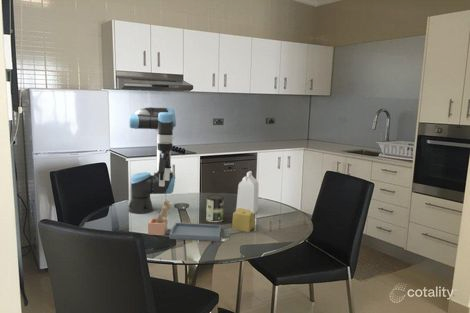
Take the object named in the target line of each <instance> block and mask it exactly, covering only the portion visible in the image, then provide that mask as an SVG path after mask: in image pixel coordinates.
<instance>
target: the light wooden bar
mask: <svg viewBox="0 0 470 313" xmlns="http://www.w3.org/2000/svg"><path fill="white" fill-rule="evenodd" d="M172 203H173V202H172V201H170V200H168V199H165V200H164V202H163V204H162V207H161V209H160V212H159V214H158V216H157V218H158V219H157V222H156V223H164V221H165V219H167V216H168V213H169V211H170V209H171V206H172Z"/></svg>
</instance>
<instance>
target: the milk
mask: <svg viewBox="0 0 470 313" xmlns="http://www.w3.org/2000/svg"><path fill="white" fill-rule="evenodd" d="M237 186H238V187H237V196H236V207H235V211H236V210H237V209H238V208H242V209H246V210H250V211H251V212H253V214H254V215H255V214H256V213H257V212H258V211H259V181H258V180H257V179H256V178H255V177H254V175H253V172H252V171H251V170H249V171H247V172H246V176H244V177H242V179H241V181H239V183H238V185H237ZM257 210H258V211H257ZM256 211H257V212H256Z"/></svg>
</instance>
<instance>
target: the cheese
mask: <svg viewBox="0 0 470 313" xmlns="http://www.w3.org/2000/svg"><path fill="white" fill-rule="evenodd" d="M255 218H256V216H255V214H253V212H251V211H250V210H246V209H242V208H238V209H237V210H236V209H235V211H234V212H233V213H232V228H231V229H232V230H234V231H238V232H239V231H240V232H244V233H245V232H246V233H250V231H252V229H254V228H255V225H256V222H255Z"/></svg>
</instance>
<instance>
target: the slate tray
mask: <svg viewBox="0 0 470 313" xmlns="http://www.w3.org/2000/svg"><path fill="white" fill-rule="evenodd" d="M173 224H174V225H173V226H172V228H171V230H170V232H169V234H168V235H169V236H168V239H169V240H170V239H171V240H184V241H186V240H188V241H204V240H207V241H209V242H220V241H221V240H220V239H221V233H222V224H215V223H214V224H212V223H210V224H209V223H207V224H206V223H193V222H174V223H173ZM207 241H206V242H207Z"/></svg>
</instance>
